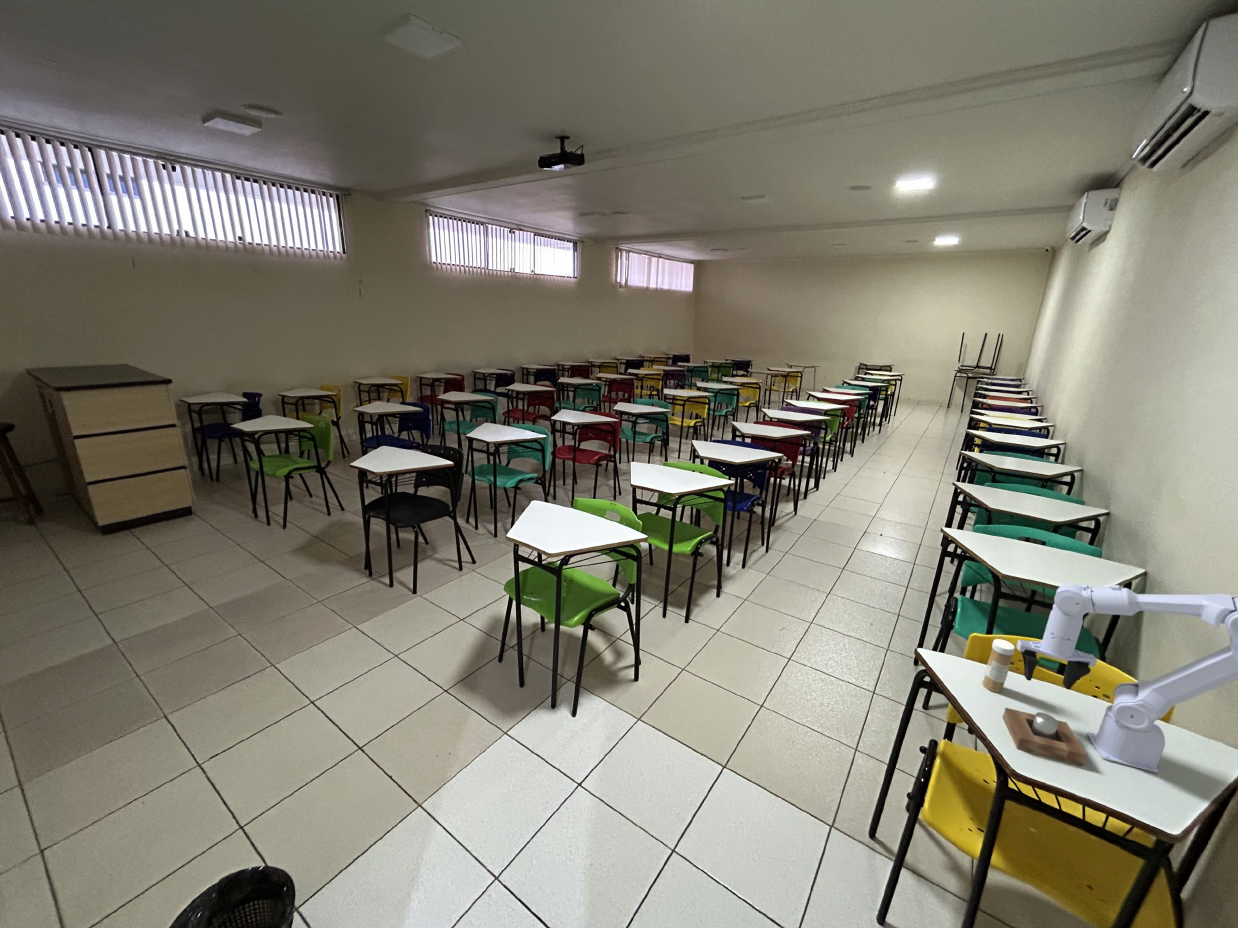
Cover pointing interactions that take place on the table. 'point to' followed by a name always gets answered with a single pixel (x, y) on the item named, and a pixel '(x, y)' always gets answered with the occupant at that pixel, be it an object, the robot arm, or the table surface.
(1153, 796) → the table surface
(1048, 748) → the socket block
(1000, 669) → the sprinkles bottle
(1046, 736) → the peg
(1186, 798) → the table surface
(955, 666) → the table surface
